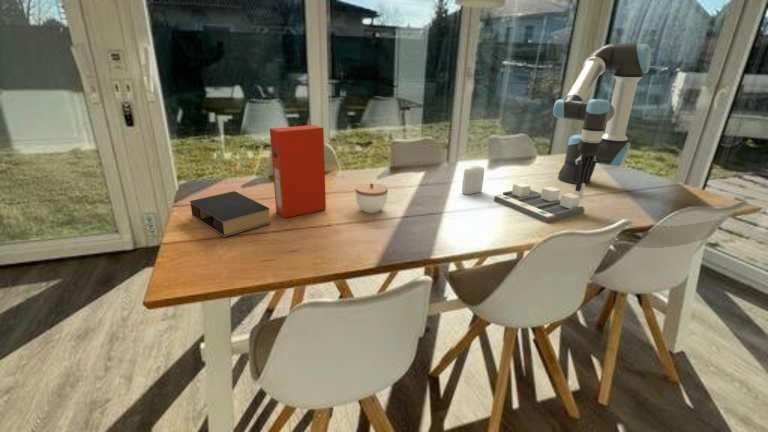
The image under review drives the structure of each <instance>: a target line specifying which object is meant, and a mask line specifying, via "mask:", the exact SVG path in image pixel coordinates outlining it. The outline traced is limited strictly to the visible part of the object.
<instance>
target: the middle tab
mask: <svg viewBox="0 0 768 432" xmlns="http://www.w3.org/2000/svg"><path fill="white" fill-rule="evenodd" d="M560 194H561V189H559V188H556V187H554V186H547V187H542V189H541V198H542V199H544V200H547V201H550V202H551V201H556V200H560V199H559V198H560Z"/></svg>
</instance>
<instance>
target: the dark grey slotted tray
mask: <svg viewBox="0 0 768 432" xmlns="http://www.w3.org/2000/svg"><path fill="white" fill-rule="evenodd" d="M541 194H542V192H538V191H535V190H533V189H530V192H529V196H525V197H518V196H516V195H513V194H512V190H508V191H503V193H502V194H499V195H495V196H494V197H493V201H494V202H496V203H499V204H501V205H503V206H506V207H508V208H511V209H513V210H516V211H518V212H521V214H525V215H526V216H529V217H532V218H534V219H537V220H539V221H541V222H543V223H547V224H549V223H553V222H557V221H558V222H559V221H561V220H565V219H568V218H571V217H572V218H573V217H576V216H580V215H583V214H584V213H585V209H586V208H584V206H578V207H576V208H572V209H569V208H566V207H563V206H561V205H560V201H561V199H558V200H556V201H551V202H550V201H547V200H544V199H542V198H541Z"/></svg>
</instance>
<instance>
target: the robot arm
mask: <svg viewBox="0 0 768 432" xmlns="http://www.w3.org/2000/svg"><path fill="white" fill-rule="evenodd" d="M651 60H652V47H651V46H650V45H649V44H645V43H609V44H605V45H603V46H600V47H599V48H596V49H595V50H593V51H592V52H591V53H590V54H589V55H588V56H587V57H586V59H584V62H583V63H582V69H581V71H580V73H579V74H578V76H577V78H576V80H575V81H574V82H573V85H572V86H571V88H570V90H569V91H568V93H567V94H566V96H565V98H562V99H557V100H556V101H555V102H554V105H553V109H552V111H553V112H552V114H553V117H555V118H559V119H563V120H574V121H583V125H582V130H581V134H573V135H571V136H570V137H569V139H568V143H567V148H566V154H565V157H564V163H563V165H562V166H561V169H560V170H559V172H558V174H557V179H558V180H560V181H562V182H565V183H569V184H574V185H575V184H576V185H575V190H574V193H573V194H574V195H577V196H580V200H582V199H583V195H584V191H585V186H586V184H589V183H590V182H591V178H592V176H593V173H594V170H595V167H596V164H600V165H606V166H609V167H610V166H611V167H620V166H621V165H622V164H623V163H624V162H625V160H626V158H627V155H628V154H629V153H628V152H629V150H630V148H631V147H630V146H631V143H630V142H628V139H629V138H628V137H627V135H626V132H627V129H628V125H629V119H630V115H631V113H632V109H633V108H632V106H633V103H634V100H635V94H636V90H637V87H638V82H639V81H640V80H641V79H643V78H644V75H645V74H648V73H649V71H650V67H651V62H652V61H651ZM604 72H613V75H612V76H613V78H614V79H615V84H614V89H613V93H612V98H611V102H610V101H609V100H608V99H602V98H601V99H600V98H598V99H597V98H591V99H589V100H588V101H586V99H587V98H588V96H589V95H590V93H591V91H592V89H593V87H594V85H595V84H596V82H597V80H598V79H599V76H601V75H602V74H604Z"/></svg>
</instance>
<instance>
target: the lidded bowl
mask: <svg viewBox="0 0 768 432" xmlns="http://www.w3.org/2000/svg"><path fill="white" fill-rule="evenodd" d="M354 190H355V200H356V205H358V207H359V208H360V209H361V210H362V211H363V212H364V213H367V214H374V213H375V214H376V213H379V212H380V211H381V210H382V209H383V208H384V207H385V205H386V202H387V198H388V190H389V189H388V187H387V186H386V185H384V184H381V183H377V182H376V183H374V182H369V183H361V184H358V185H357V186H355V188H354Z"/></svg>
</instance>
